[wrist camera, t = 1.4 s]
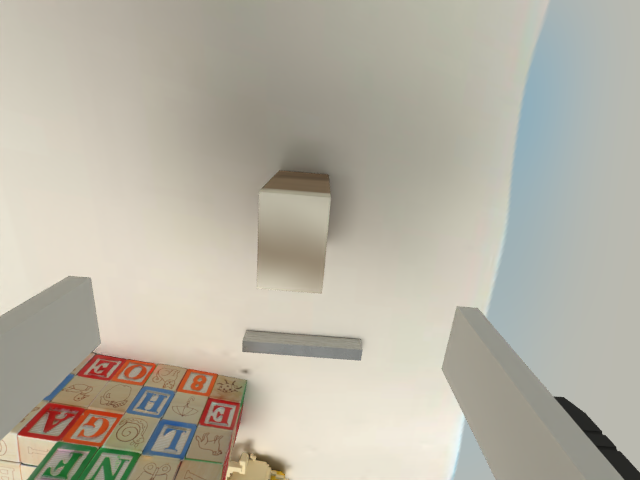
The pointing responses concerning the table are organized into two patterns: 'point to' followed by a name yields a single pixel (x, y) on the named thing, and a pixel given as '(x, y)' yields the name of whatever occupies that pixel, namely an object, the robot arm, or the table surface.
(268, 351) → the grey bar
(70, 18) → the table surface
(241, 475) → the cream long toy figure
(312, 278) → the walnut block
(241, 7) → the table surface
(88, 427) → the stack of blocks
